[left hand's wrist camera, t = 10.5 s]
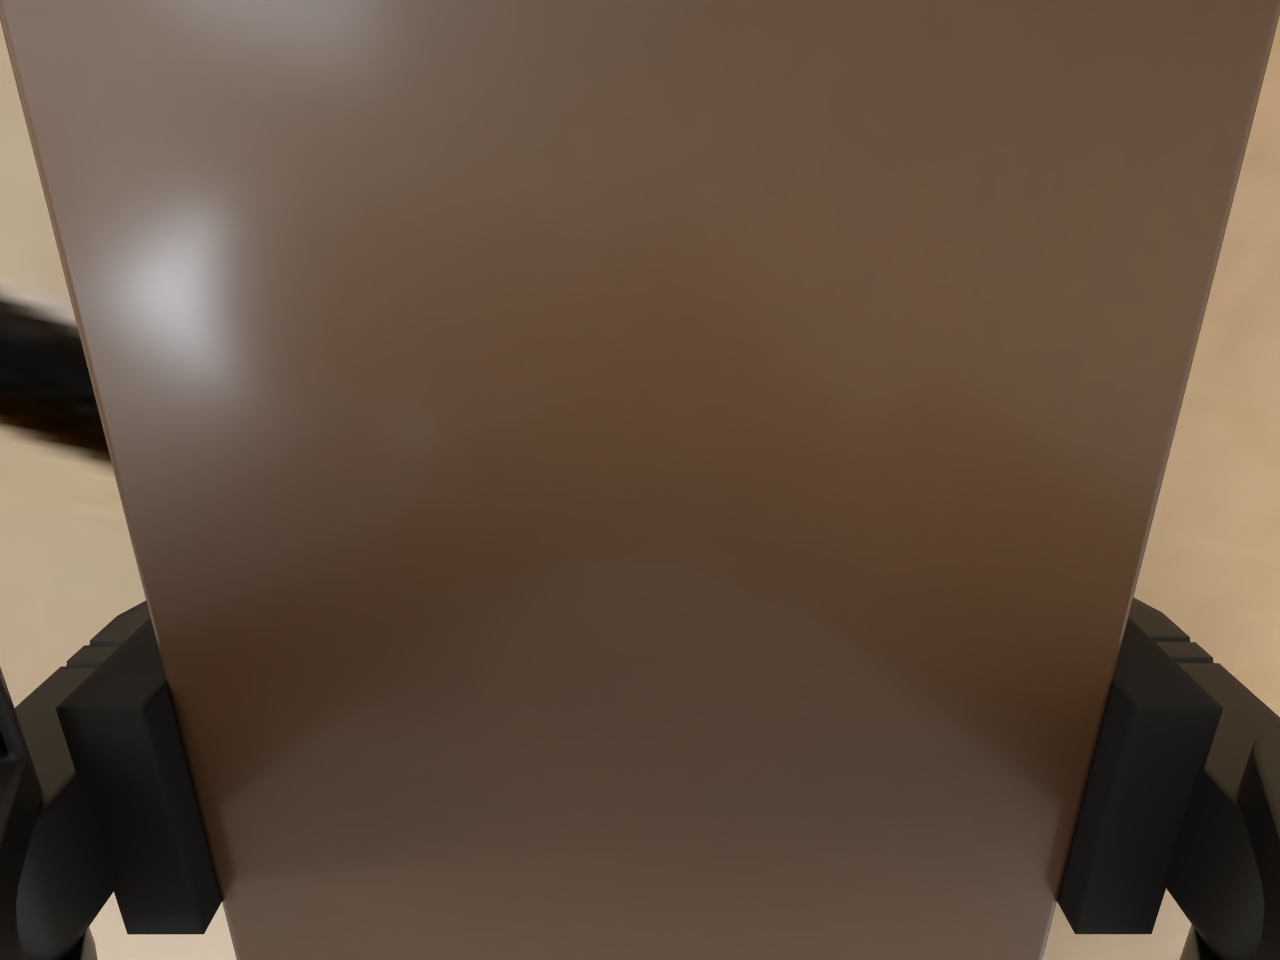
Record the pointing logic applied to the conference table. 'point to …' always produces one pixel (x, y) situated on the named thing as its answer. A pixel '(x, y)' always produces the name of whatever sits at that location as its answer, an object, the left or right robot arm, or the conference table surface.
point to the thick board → (639, 443)
